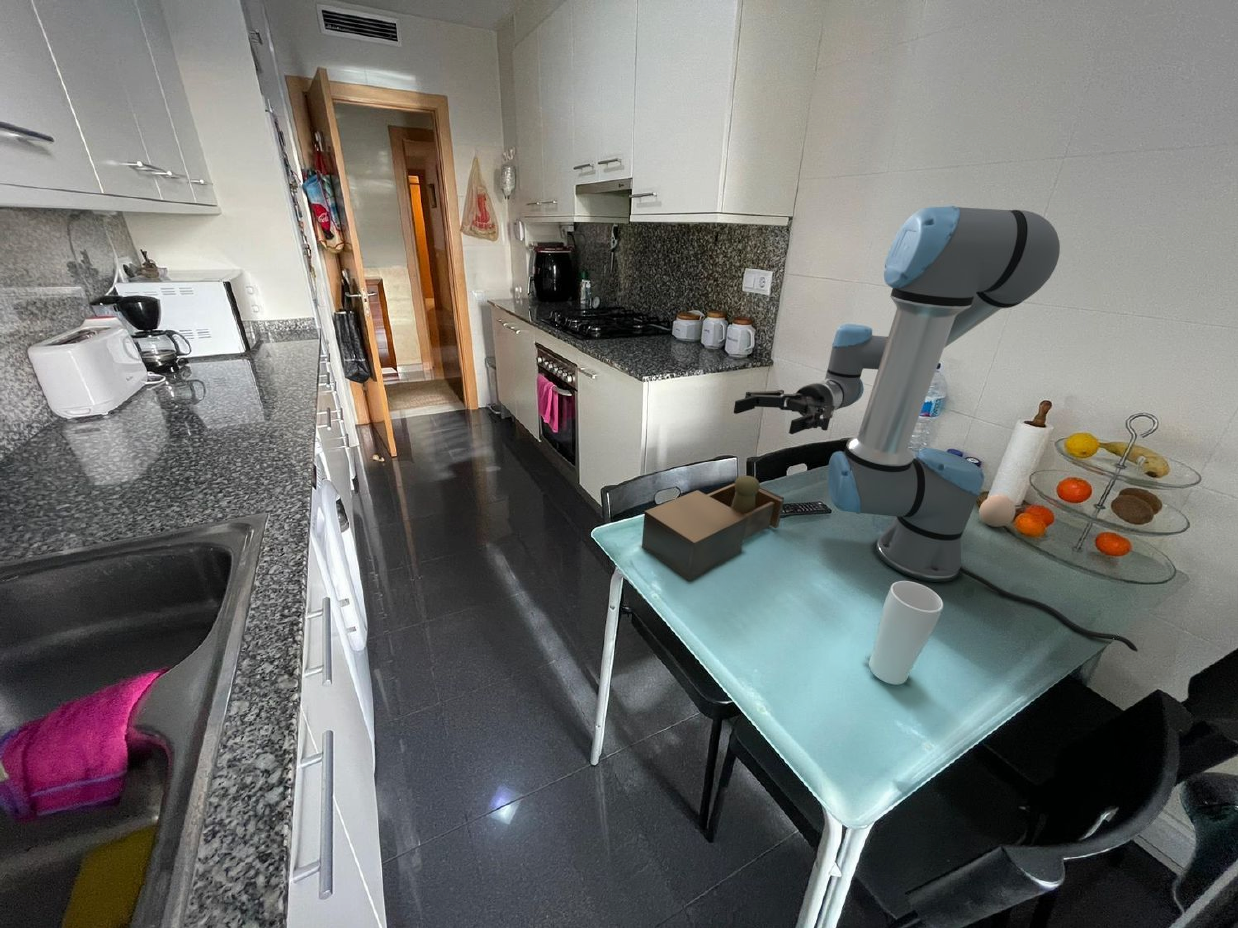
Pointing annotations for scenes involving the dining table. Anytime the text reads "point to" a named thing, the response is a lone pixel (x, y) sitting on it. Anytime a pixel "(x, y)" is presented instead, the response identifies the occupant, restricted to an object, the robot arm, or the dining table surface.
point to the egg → (997, 510)
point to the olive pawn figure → (745, 494)
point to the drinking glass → (904, 630)
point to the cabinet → (693, 533)
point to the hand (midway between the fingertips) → (762, 417)
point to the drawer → (765, 508)
